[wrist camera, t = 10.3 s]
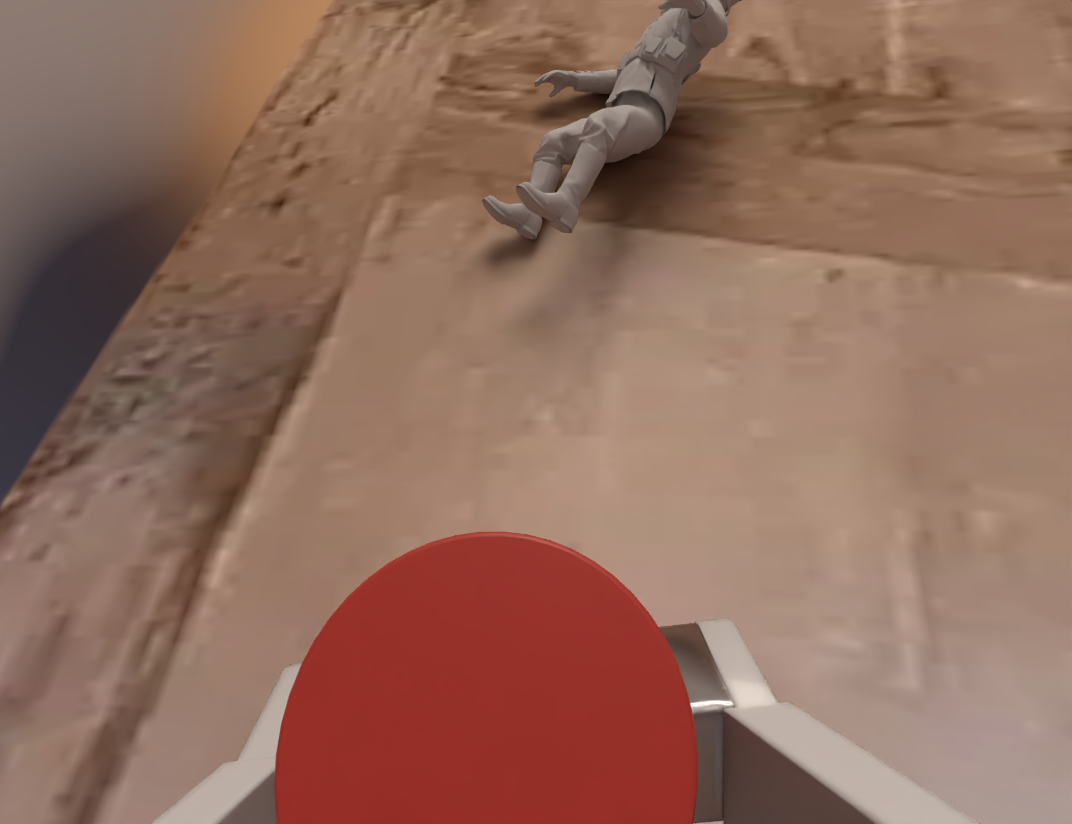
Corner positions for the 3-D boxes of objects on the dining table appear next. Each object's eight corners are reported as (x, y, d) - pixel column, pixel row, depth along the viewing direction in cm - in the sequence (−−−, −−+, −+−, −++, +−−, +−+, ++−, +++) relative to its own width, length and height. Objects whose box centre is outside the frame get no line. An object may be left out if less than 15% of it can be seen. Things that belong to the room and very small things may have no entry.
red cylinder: (543, 843, 13) (495, 1179, 4) (432, 724, 14) (186, 761, 5) (640, 708, 14) (784, 715, 5) (529, 608, 15) (476, 459, 6)
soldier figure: (445, 217, 22) (586, -56, 23) (545, 286, 24) (669, 36, 25) (548, 181, 15) (742, -205, 16) (672, 280, 18) (835, -60, 18)
